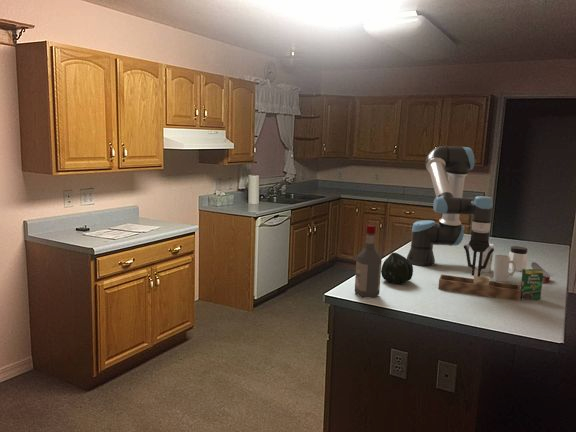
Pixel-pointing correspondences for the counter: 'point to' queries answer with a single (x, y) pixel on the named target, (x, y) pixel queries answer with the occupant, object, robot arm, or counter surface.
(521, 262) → the jar
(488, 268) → the syrup box
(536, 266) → the canned food
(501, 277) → the mug
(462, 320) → the counter surface
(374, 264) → the liquor
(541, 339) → the counter surface
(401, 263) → the squash
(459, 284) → the box
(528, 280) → the coffee box
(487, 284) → the birch block
